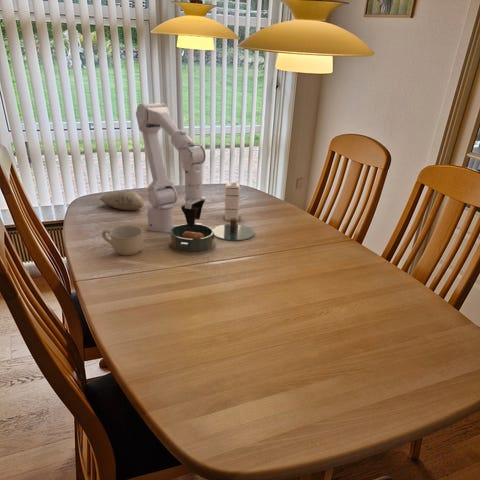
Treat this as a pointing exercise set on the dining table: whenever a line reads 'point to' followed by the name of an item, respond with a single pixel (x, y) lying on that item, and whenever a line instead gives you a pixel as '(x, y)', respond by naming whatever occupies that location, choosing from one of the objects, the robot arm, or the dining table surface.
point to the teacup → (125, 239)
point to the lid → (233, 231)
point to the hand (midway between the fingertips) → (193, 222)
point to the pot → (192, 244)
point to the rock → (123, 200)
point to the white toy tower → (232, 200)
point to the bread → (192, 235)
